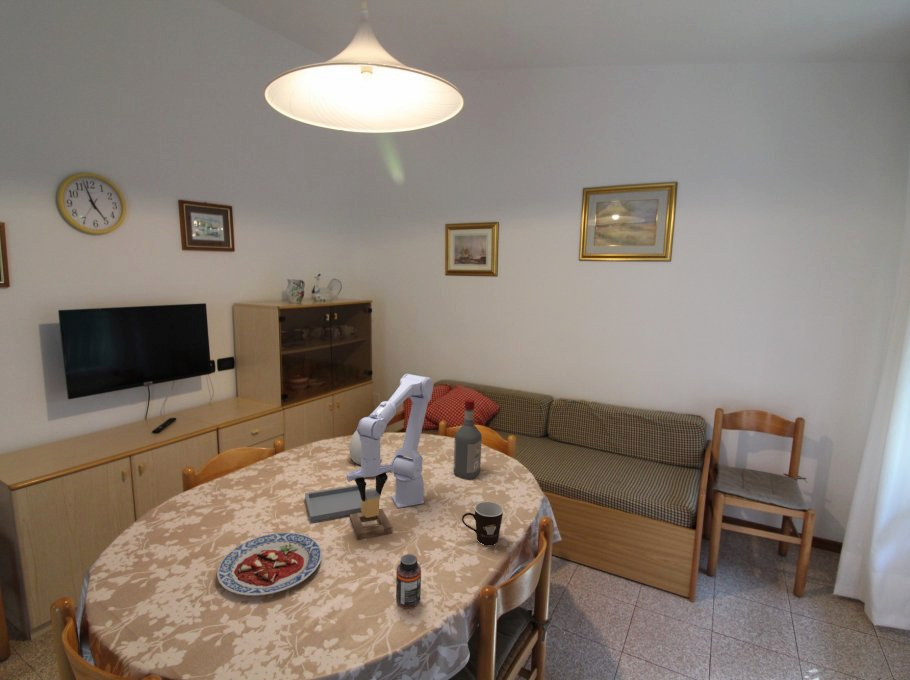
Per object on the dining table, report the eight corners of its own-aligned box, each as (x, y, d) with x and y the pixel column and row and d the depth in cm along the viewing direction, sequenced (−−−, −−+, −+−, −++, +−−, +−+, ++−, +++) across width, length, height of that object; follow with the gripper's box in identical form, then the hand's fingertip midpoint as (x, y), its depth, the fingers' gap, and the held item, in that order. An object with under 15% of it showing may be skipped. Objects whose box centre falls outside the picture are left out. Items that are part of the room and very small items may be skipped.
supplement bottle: (396, 592, 115) (397, 551, 113) (420, 591, 115) (421, 550, 114) (395, 610, 109) (396, 566, 107) (420, 609, 110) (421, 566, 108)
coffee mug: (504, 535, 141) (506, 504, 140) (497, 550, 133) (499, 519, 132) (468, 526, 145) (469, 497, 143) (459, 541, 137) (461, 510, 135)
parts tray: (362, 489, 166) (362, 483, 166) (373, 511, 152) (373, 505, 151) (305, 499, 158) (305, 493, 158) (310, 523, 144) (310, 516, 143)
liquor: (482, 472, 183) (485, 400, 178) (470, 481, 176) (473, 405, 171) (462, 466, 188) (465, 395, 183) (450, 474, 180) (453, 401, 176)
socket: (382, 513, 151) (382, 508, 150) (392, 532, 140) (392, 527, 140) (349, 519, 146) (349, 514, 146) (357, 539, 136) (357, 534, 136)
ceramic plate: (259, 618, 105) (258, 607, 105) (196, 576, 119) (196, 565, 118) (342, 560, 127) (342, 550, 126) (281, 529, 140) (281, 520, 140)
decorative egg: (376, 467, 184) (376, 432, 182) (346, 466, 184) (346, 431, 182) (381, 455, 196) (382, 421, 194) (353, 454, 196) (353, 420, 194)
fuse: (373, 507, 146) (374, 488, 145) (379, 515, 141) (380, 495, 140) (360, 510, 144) (361, 490, 143) (366, 518, 139) (367, 497, 138)
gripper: (388, 447, 147) (387, 487, 149) (343, 455, 139) (343, 497, 142) (396, 455, 141) (396, 497, 143) (350, 464, 133) (350, 508, 136)
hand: (370, 497), depth 142 cm, fingers closed on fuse, 4 cm apart
